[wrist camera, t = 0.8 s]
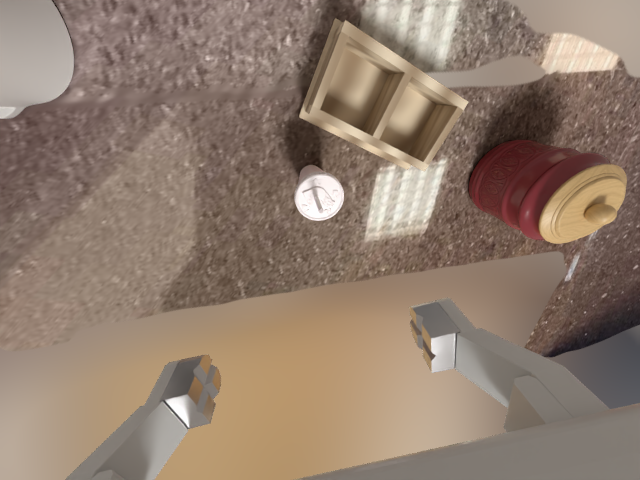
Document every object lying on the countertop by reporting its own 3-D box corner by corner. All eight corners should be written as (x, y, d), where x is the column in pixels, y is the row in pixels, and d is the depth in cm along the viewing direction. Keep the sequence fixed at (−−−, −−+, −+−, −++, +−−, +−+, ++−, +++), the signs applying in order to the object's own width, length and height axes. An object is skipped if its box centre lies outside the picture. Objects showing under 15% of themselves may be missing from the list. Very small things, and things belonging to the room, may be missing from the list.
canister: (549, 139, 43) (696, 166, 28) (515, 209, 49) (619, 260, 34) (483, 136, 41) (603, 162, 26) (456, 209, 47) (539, 264, 32)
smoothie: (300, 149, 38) (310, 176, 26) (337, 165, 40) (363, 197, 28) (285, 187, 40) (288, 228, 28) (321, 200, 42) (338, 243, 30)
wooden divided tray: (298, 116, 35) (302, 120, 30) (333, 19, 30) (345, 5, 25) (405, 168, 42) (423, 179, 36) (448, 95, 37) (476, 95, 32)
